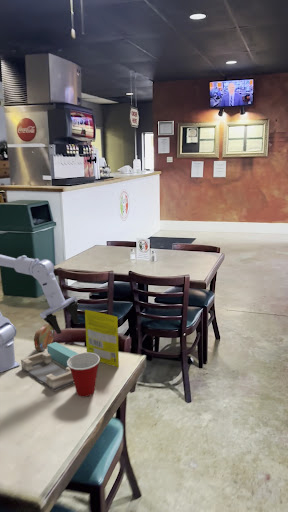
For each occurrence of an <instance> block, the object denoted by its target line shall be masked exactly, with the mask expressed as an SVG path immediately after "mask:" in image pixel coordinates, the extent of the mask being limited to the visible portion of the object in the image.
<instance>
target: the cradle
mask: <svg viewBox="0 0 288 512" xmlns="http://www.w3.org/2000/svg"><path fill="white" fill-rule="evenodd" d="M20 363H21V365H20V366H21V370H22V371H24V372H25V373H26V374H28V375H29V376H31V377H32V378H33V379H35V380H37V381H38V382H40V383H41V384H43V385H44V386H46V387H47V388H49V389H50V390H52V391H53V392H57V391H58V390H60V389H63V388H65V387H67V386H70V385H72V384H74V380H73V376H72V372H71V370H70V368H69V367H65V369H63V368H62V367H60V366H59V365H57V364H55V363H54V362H52V358H51V355H50V354H49V353H48V351H46V350H45V351H40V352H38V353H36V354H33V355H30V356H27V357H24V358H21V359H20Z"/></svg>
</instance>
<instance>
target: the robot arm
mask: <svg viewBox="0 0 288 512" xmlns="http://www.w3.org/2000/svg"><path fill="white" fill-rule="evenodd" d="M0 266H1V267H6V268H11V269H14V271H15V272H16V273H20V274H24V275H29V276H32V277H33V278H34V279H36V280H37V282H38V284H39V285H40V287H41V290H42V292H43V294H44V296H45V299H46V301H47V304H48V305H49V308H47V309H46V310H43V311H42V312H40V313H39V316H40V319H43V320H44V321H45V322H46V324H50V325H51V326H52V327H53V329H54V332H55V333H56V334H57V335H59V334H62V330H61V328H60V325H59V322H58V319H57V315H54V313H57V312H58V311H61V310H62V309H64V308H66V310H67V312H68V313H69V315H70V318H71V320H72V323H73V324H74V325H78V324H79V317H78V307H79V304H78V301H79V300H78V297H77V296H76V295H75V296H71V297H69V298H67V299H66V298H65V297H64V294H63V292H62V289H61V287H60V285H59V283H58V280H57V278H56V275H55V273H54V271H55V265H54V262H52V261H51V260H50V259H47V258H44V259H39V258H32V257H30V258H29V257H27V255H25V254H24V255H21V256H17V258H15V257H12V256H7V255H3V254H0ZM17 331H18V330H17V328H16V326H15V325H14V324H13V323H12V322H11V320H10V319H9V318H7V317H5V316H4V315H3V314H2V311H1V310H0V373H2V372H6V371H9V370H12V369H14V368H16V367H19V366H21V365H20V363H19V362H17V361H16V356H15V345H14V344H15V343H14V341H15V337H16V336H17Z"/></svg>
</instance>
